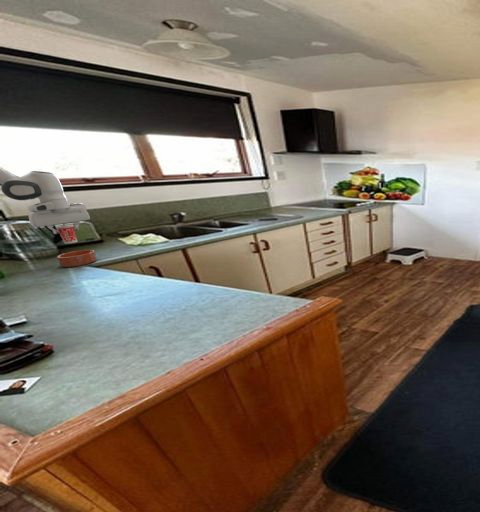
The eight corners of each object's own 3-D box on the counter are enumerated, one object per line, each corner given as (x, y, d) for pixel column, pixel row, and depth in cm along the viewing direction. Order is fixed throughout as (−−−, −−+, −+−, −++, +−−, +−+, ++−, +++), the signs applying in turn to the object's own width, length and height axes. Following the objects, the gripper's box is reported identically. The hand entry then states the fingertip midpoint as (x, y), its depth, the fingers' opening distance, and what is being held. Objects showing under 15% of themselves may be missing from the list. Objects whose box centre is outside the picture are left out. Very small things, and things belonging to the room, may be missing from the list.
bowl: (57, 269, 136) (53, 259, 135) (65, 262, 146) (61, 253, 145) (94, 263, 144) (90, 254, 142) (99, 257, 154) (95, 248, 152)
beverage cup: (59, 244, 138) (48, 217, 133) (66, 241, 143) (55, 215, 138) (75, 243, 140) (65, 216, 135) (82, 240, 145) (72, 214, 141)
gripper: (81, 202, 145) (90, 227, 150) (21, 207, 127) (34, 236, 132) (87, 202, 143) (96, 228, 147) (27, 208, 125) (40, 237, 130)
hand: (66, 231), depth 140 cm, fingers closed on beverage cup, 6 cm apart
